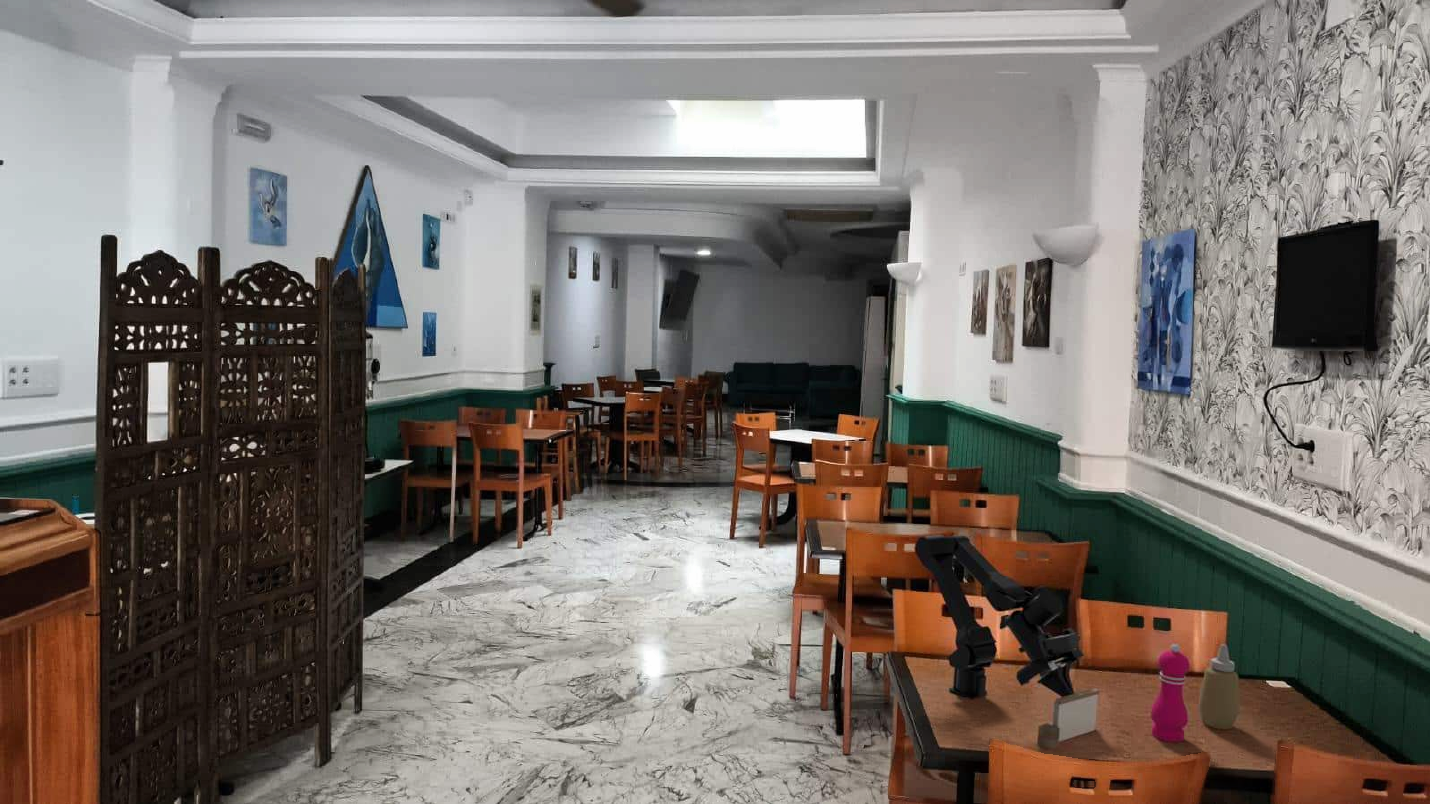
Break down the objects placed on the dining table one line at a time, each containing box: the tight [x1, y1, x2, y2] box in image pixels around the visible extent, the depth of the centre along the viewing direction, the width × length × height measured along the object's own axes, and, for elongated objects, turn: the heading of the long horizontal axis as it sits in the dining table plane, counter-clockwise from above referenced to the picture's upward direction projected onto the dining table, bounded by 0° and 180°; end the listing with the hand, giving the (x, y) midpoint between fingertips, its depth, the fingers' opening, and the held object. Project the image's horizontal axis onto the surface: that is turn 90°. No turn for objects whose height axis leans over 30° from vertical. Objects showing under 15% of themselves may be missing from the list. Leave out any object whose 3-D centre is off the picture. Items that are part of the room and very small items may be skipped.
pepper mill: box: [1150, 643, 1190, 743], centre depth 209 cm, size 7×7×20 cm
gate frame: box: [1036, 722, 1060, 751], centre depth 207 cm, size 3×19×4 cm, turn 132°
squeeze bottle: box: [1198, 643, 1240, 730], centre depth 217 cm, size 8×8×18 cm
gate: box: [1052, 688, 1100, 742], centre depth 207 cm, size 1×14×9 cm, turn 124°
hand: (1074, 701), depth 207 cm, fingers closed, pressing on gate
